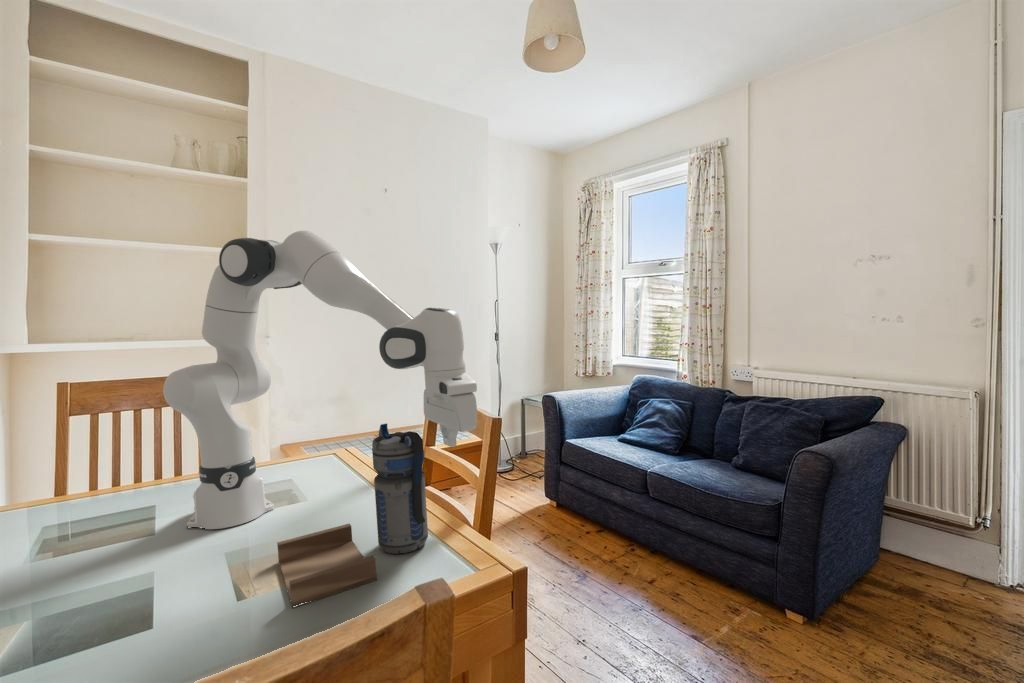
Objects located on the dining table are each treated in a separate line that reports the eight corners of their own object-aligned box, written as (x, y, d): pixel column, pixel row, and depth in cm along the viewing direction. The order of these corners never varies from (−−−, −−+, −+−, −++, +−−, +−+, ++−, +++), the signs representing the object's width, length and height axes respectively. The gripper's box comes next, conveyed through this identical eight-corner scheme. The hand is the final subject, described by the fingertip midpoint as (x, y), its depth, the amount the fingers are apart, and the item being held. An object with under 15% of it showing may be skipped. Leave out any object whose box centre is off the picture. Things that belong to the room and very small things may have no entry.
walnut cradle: (278, 562, 95) (277, 542, 95) (350, 541, 102) (349, 523, 102) (292, 608, 79) (290, 584, 79) (376, 580, 86) (375, 558, 86)
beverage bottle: (405, 565, 91) (397, 436, 90) (367, 546, 100) (359, 428, 99) (446, 544, 99) (439, 425, 98) (406, 529, 107) (399, 418, 106)
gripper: (414, 380, 111) (418, 439, 111) (452, 388, 93) (457, 457, 94) (439, 377, 114) (443, 434, 115) (480, 384, 97) (485, 451, 97)
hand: (450, 445), depth 104 cm, fingers closed
